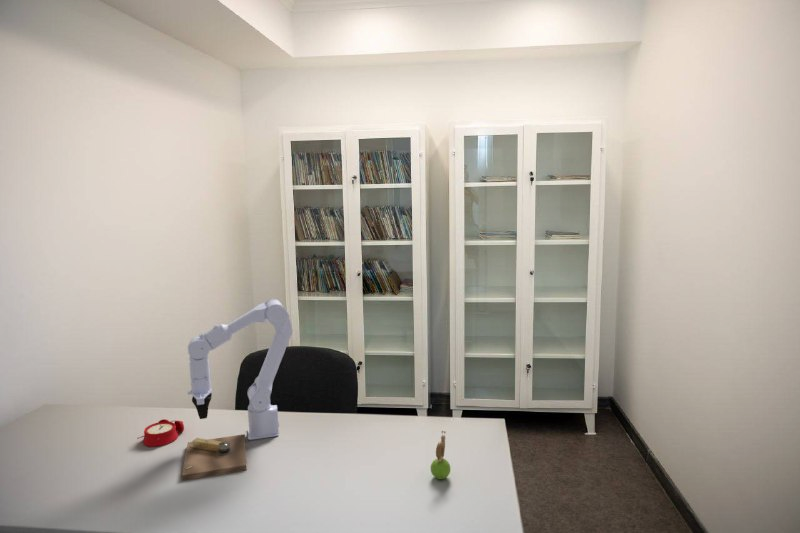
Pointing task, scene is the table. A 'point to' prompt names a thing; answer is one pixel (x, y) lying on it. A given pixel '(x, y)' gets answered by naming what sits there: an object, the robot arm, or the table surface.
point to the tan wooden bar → (211, 445)
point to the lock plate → (215, 459)
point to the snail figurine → (440, 461)
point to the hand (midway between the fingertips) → (203, 417)
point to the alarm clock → (162, 433)
